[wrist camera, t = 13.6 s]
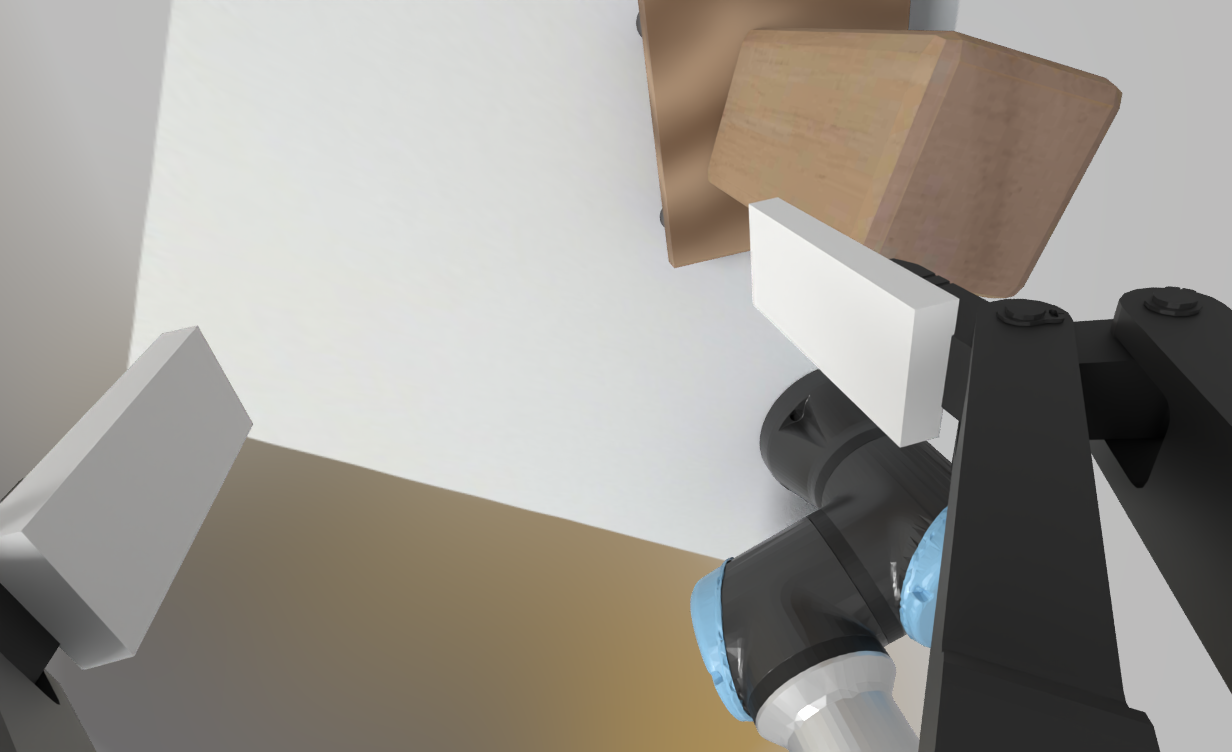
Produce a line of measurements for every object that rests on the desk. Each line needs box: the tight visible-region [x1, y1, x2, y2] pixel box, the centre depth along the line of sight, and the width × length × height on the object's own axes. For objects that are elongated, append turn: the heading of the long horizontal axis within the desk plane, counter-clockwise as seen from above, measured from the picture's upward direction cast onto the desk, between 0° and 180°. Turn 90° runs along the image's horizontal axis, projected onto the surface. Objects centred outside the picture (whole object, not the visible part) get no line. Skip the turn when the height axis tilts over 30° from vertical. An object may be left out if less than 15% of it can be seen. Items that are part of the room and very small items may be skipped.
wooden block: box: [708, 27, 1122, 298], centre depth 35 cm, size 10×10×20 cm
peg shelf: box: [636, 0, 911, 268], centre depth 46 cm, size 18×18×6 cm
